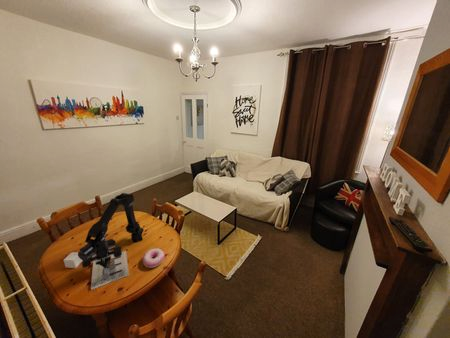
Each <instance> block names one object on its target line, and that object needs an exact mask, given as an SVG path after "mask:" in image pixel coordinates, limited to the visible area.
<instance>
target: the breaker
mask: <svg viewBox="0 0 450 338" xmlns="http://www.w3.org/2000/svg"><path fill="white" fill-rule="evenodd" d="M102 277H103V280H104V279H106V278H109V268H105V269H104V270H102Z"/></svg>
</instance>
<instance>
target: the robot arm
mask: <svg viewBox="0 0 450 338" xmlns="http://www.w3.org/2000/svg"><path fill="white" fill-rule="evenodd" d="M134 201H135V199H134V194H132V193H126V192H121V193H120V194H118V195H116V196H115V197H113V198H111V199H110V201H109V203H108V206H107V207H106V209H105V210H104V212H103V213H102V215H101V217H100V218H99V219H98V221H96V222H95V223H93V224H92V226H91V227H90V228H89V230H88V231H87V235H86V238H85V240H84V243H86V244H85V245H84V246H83V247H81V248H80V249H79V251H77V252H78V257H79V258H80V259H81V260H83V261H82V262H81V266H82V268H83V269H84V268H87V267H91V265H92V262H93V261H96V265H97V264H98V265H101V266H103V267H104V268H106V267H107V264H108V261H109V260H111V255H114V257H118V256H121V255H122V252H123V251H122V250H123V249H122V246H119V245H118V246H115V247H114V248H112V249H113V250H110V249H108V245H107V242H106V241H107V239H106V237H108V236H109V233H107V231H108V229H109V228H108V227H109V223H110V221H111V220H112V218H113V216H114V215H115V213H116V212H117V209H118V208H119V206H122V207H123V209H124V212H125V217H126V219H127V225H126V226H125V229H126V232H127V233H128V234H130V238H131V242H132V244H135V243H138V242H141V241H143V240H144V239H143V232H144V228H143V227H141V225H140V223H139V222H137V219H136V216H135V211H134V207H133V204H134ZM94 253H96V256H94V257H92V255H93V254H94ZM103 258H105V263H104V260H103Z"/></svg>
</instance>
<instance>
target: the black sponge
mask: <svg viewBox="0 0 450 338" xmlns="http://www.w3.org/2000/svg"><path fill="white" fill-rule="evenodd" d="M106 242H107V245H108V249H109V250H111V249H113V248H115V247H117V243H116V240H115V239H113V238H109V239H106ZM94 256H96V253H94V254H93V255H92V257H94Z"/></svg>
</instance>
